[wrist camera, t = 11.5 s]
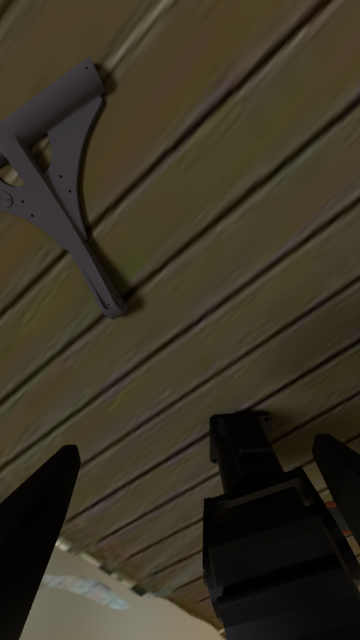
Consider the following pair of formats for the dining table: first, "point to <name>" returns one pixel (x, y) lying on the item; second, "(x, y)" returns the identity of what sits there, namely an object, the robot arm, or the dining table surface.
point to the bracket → (58, 170)
